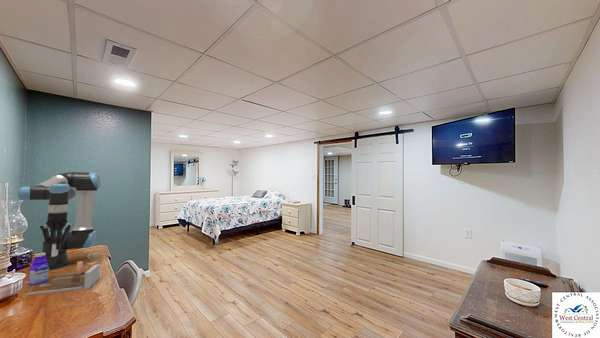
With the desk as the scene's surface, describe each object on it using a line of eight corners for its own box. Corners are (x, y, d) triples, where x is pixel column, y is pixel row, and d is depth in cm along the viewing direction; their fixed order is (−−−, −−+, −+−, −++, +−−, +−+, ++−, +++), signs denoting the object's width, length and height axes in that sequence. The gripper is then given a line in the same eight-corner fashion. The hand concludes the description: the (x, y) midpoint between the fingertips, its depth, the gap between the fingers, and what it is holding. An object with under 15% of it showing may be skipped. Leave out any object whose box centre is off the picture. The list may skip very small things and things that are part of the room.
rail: (38, 288, 127) (40, 269, 128) (98, 281, 138) (99, 264, 138) (22, 299, 115) (23, 278, 116) (88, 291, 126) (90, 272, 126)
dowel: (76, 283, 130) (78, 261, 130) (82, 282, 131) (83, 260, 131) (74, 284, 127) (76, 262, 128) (80, 284, 128) (81, 262, 129)
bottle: (33, 288, 127) (36, 255, 128) (25, 286, 128) (28, 255, 129) (49, 282, 134) (52, 252, 135) (42, 281, 135) (45, 251, 136)
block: (58, 285, 129) (59, 274, 129) (90, 281, 134) (91, 270, 135) (50, 291, 121) (51, 279, 122) (84, 287, 127) (85, 276, 127)
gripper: (37, 213, 121) (33, 259, 120) (69, 212, 126) (66, 256, 125) (46, 211, 128) (42, 254, 127) (76, 210, 133) (73, 252, 132)
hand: (54, 255), depth 126 cm, fingers closed
